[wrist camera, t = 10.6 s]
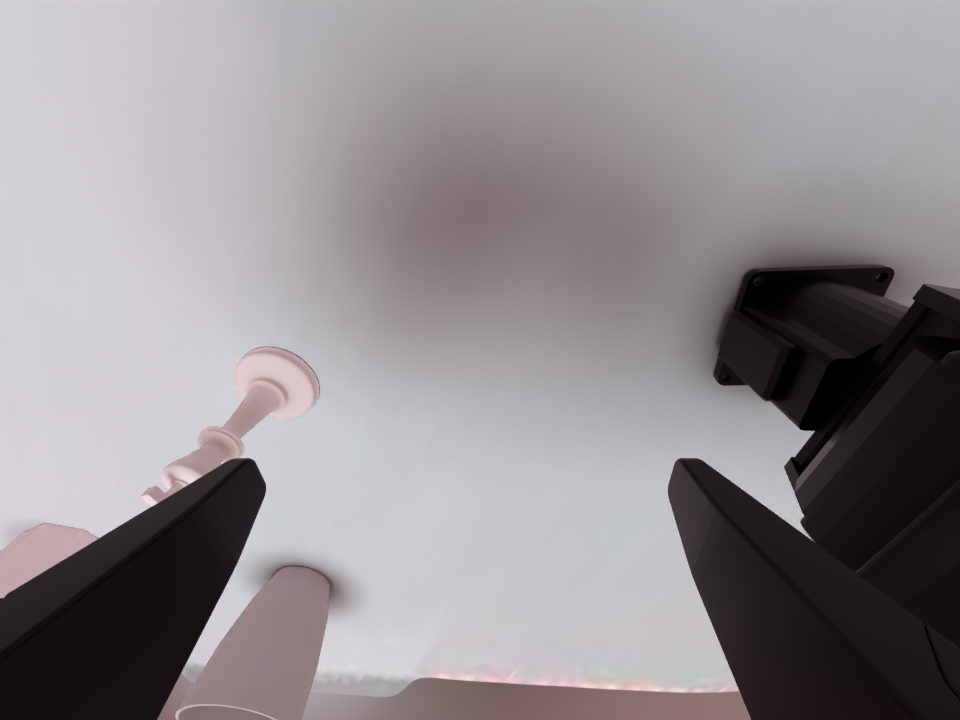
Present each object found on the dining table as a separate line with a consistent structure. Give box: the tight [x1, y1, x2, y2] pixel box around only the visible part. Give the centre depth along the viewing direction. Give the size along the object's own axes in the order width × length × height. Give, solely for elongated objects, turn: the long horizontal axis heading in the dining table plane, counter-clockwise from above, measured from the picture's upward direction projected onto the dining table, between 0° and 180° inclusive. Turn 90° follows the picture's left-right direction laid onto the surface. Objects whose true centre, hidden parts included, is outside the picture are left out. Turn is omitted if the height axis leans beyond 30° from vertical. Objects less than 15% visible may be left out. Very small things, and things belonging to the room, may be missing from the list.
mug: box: [0, 523, 99, 598], centre depth 31 cm, size 12×9×10 cm
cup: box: [175, 566, 330, 720], centre depth 30 cm, size 8×8×10 cm
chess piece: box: [140, 347, 319, 506], centre depth 19 cm, size 5×5×10 cm
